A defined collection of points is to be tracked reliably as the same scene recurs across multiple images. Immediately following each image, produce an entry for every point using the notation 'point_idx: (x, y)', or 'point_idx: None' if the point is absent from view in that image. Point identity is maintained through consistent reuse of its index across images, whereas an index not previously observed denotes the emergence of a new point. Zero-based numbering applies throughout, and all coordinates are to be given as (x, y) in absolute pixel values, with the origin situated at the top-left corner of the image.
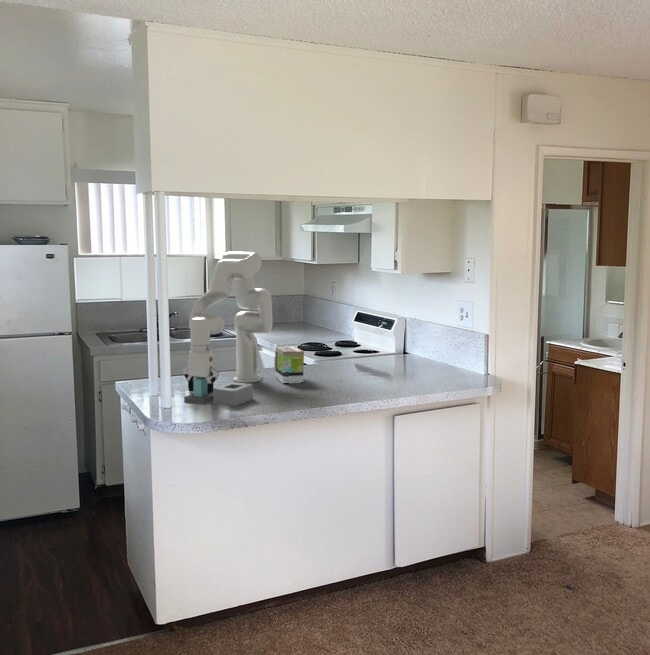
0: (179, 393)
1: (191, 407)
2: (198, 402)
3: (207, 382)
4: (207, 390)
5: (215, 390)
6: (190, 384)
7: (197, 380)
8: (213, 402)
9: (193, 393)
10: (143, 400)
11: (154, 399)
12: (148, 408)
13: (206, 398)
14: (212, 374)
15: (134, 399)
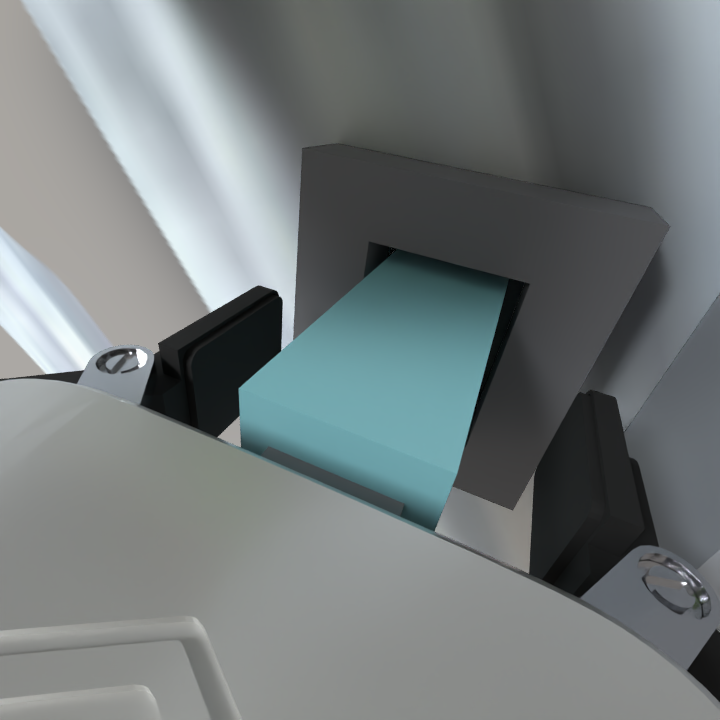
0: (75, 38)
1: (441, 534)
2: None
3: (471, 412)
4: (536, 501)
5: None
6: (229, 417)
7: None
8: (629, 444)
9: (300, 279)
10: (76, 366)
11: (99, 334)
12: None
13: (535, 465)
14: (660, 701)
15: (28, 348)
